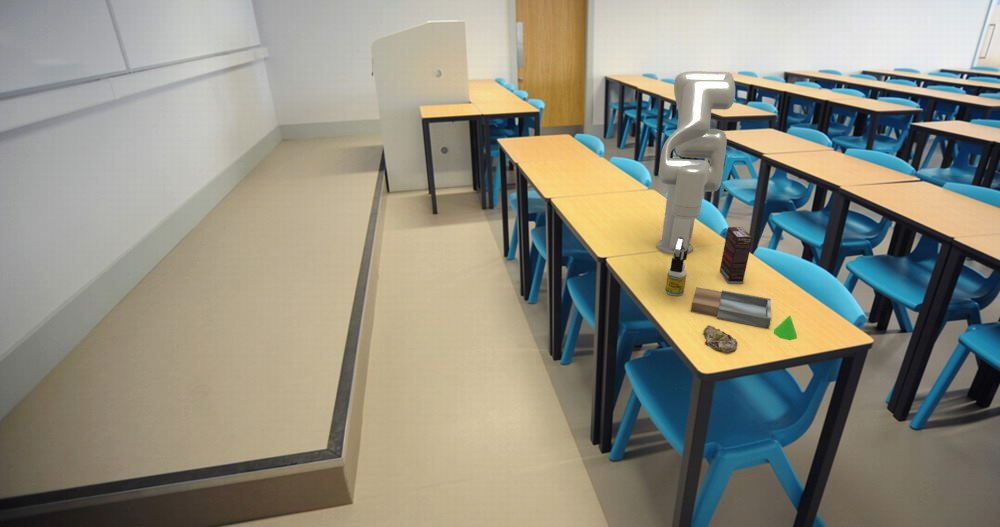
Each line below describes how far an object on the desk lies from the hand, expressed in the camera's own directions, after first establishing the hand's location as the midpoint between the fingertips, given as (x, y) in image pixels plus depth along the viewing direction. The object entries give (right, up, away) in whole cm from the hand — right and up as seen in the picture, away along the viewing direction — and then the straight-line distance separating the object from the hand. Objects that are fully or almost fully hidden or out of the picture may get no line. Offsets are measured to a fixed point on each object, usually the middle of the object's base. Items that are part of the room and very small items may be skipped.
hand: (678, 265), depth 154 cm
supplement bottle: (0, -8, +5) cm, 10 cm away
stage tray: (+12, -13, -5) cm, 18 cm away
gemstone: (+22, -18, -17) cm, 33 cm away
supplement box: (+21, -4, +13) cm, 25 cm away
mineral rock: (+4, -20, -19) cm, 28 cm away
